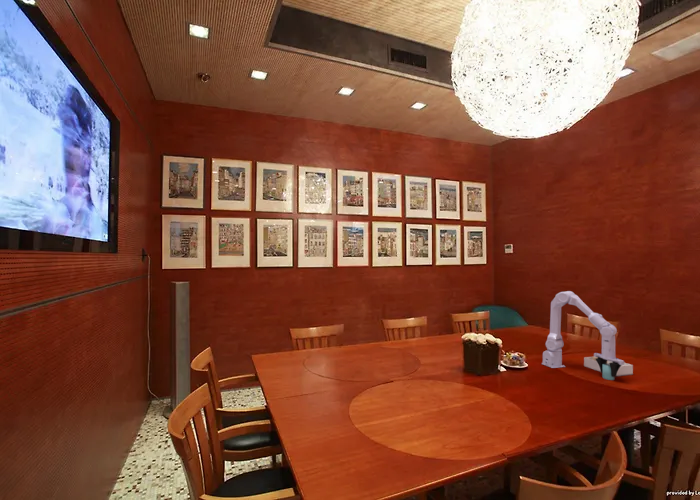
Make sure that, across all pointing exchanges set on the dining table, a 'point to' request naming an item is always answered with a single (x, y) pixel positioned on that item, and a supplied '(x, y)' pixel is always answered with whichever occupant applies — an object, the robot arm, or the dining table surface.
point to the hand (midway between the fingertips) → (608, 374)
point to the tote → (623, 370)
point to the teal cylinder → (607, 372)
